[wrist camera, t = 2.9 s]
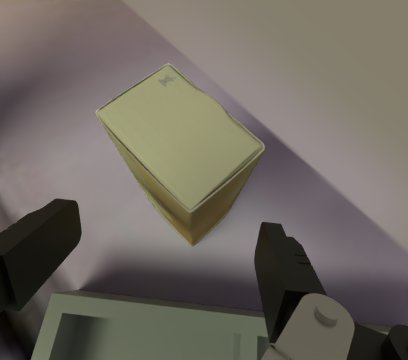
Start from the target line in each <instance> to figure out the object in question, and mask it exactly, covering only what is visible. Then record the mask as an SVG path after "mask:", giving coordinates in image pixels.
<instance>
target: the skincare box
mask: <svg viewBox="0 0 408 360" xmlns="http://www.w3.org/2000/svg"><path fill="white" fill-rule="evenodd" d="M95 114H96V116H97V118H98V119H99V121H100V122H101V124H102V125H103V127H104V128H105V130H106V131H107V133H108V135H109V136H110V138H111V140H112V141H113V143H114V144H115V146H116V147H117V149H118V151H119V152H120V154H121V155H122V157H123V159H124V160H125V162H126V164H127V165H128V167H129V169H130V170H131V172H132V173H133V175H134V177H135V178H136V180H137V182H138V183H139V185H140V186H141V188H142V190H143V191H144V193H145V195H146V196H147V198H148V199H149V200H150V202H151V203H152V204H153V205H154V207H155V208H156V209H157V210H158V211H159V212H160V214H161V215H162V216H163V217H164V218H165V219H166V220H167V222H168V223H169V224H170V225H171V226H172V227H173V228H174V229H175V230H176V231H177V232H178V233H179V234H180V235H181V236H182V237H183V238H184V239H185V241H186V242H187V243H188V244H189V245H190V246H191V247H193V246H194V245H195V244H197V243H198V242H199V241H200V240H201V239H202V238H203V237H204V236H205V235H206V234H207V233H209V232H210V231H211V230H212V229H213V228H214V227H215V226H216V225H217V224H218V223H219V222H220V221H221V220H222V219H223V218H224V217H225V216H226V215H227V213H228V211H229V210H230V208H231V206H232V205H233V203H234V201H235V199H236V198H237V196H238V194H239V193H240V191H241V189H242V187H243V186H244V184H245V182H246V181H247V179H248V177H249V176H250V174H251V172H252V170H253V169H254V167H255V165H256V164H257V162H258V160H259V159H260V157H261V155H262V154H263V152H264V150H265V145H264V143H263V142H261V141H260V140H259V139H258V138H257V137H255V136H254V135H253V134H252V133H251V132H250V131H249V130H248V129H246V128H245V127H244V126H243V125H242V124H241V123H239V122H238V121H237V120H236V119H235V118H234V117H232V116H231V115H230V114H229V113H228V112H227V111H226V110H225V109H224V108H223V107H222V106H221V105H220V104H219V103H217V102H216V101H215V100H214V99H213V98H211V97H210V96H209V95H207V94H206V93H205V92H203V91H202V90H201V89H200V88H199V87H198V86H196V85H195V84H194V83H193V82H192V81H190V80H189V79H188V78H187V77H186V76H185V75H183V74H182V73H181V72H180V71H179V70H178V69H176V68H175V67H174V66H173V65H172V64H170V63H167V64H165V65H164V66H162V67H161V68H159V69H158V70H156V71H155V72H153V73H151V74H150V75H148V76H147V77H145V78H143V79H142V80H140V81H139V82H137V83H136V84H134V85H133V86H131V87H129V88H128V89H126V90H125V91H123V92H122V93H120V94H119V95H117V96H116V97H114V98H113V99H111V100H110V101H109V102H107V103H106V104H104V105H103V106H102V107H100V108H98V109H97V110H96V111H95Z"/></svg>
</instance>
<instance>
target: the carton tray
mask: <svg viewBox="0 0 408 360" xmlns="http://www.w3.org/2000/svg"><path fill="white" fill-rule="evenodd" d="M356 323H357V322H356ZM358 324H360V325H363V326H365V327H368V328H370V329H373V330H376V331H378V332H381V333H383V334H386V335H388V333H389V331H390V330H391V328H392V326H383V325H374V324H366V323H358ZM270 345H273V346H274V345H275V343H269V339H268V333H267V328H266V323H265V317H264V312H263V311H254V310H245V309H237V308H228V307H220V306H211V305H202V304H194V303H185V302H177V301H168V300H159V299H151V298H142V297H134V296H125V295H117V294H108V293H99V292H91V291H82V290H74V291H66V292H57V293H52V295H51V298H50V301H49V304H48V308H47V311H46V314H45V317H44V320H43V323H42V327H41V330H40V333H39V336H38V339H37V342H36V346H35V349H34V352H33V355H32V358H31V360H261V359H262V357H263V355H264V354H265V352H266V351H267V349H268V348H269V346H270Z"/></svg>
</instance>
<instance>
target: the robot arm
mask: <svg viewBox="0 0 408 360" xmlns="http://www.w3.org/2000/svg"><path fill="white" fill-rule="evenodd" d="M81 232H82V231H81V223H80V216H79V208H78V204H77V202H76V201H74V200H65V199H54V200H53V201H51V202H50V203H49V204H47V205H46V206H44V207H43V208H41V209H39V210H37V211H34V212H32V213H29V214H27V215H26V216H24V217H23V218H21V219H20V220H18V221H17V223H14V224H13V225H11V226H10V227H8V228H7V230H4V231H2V232H1V233H0V313H1V311H2V310H3V309H7V310H15V311H20V310H21V309H22V308H23V307H24V306H25V304H26V303H27V302H28V301H29V300H30V299H31V298H32V296H33V295H34V294H35V293H36V292H37V291H38V289H39V288H40V287H41V286H42V285H43V284H44V283H45V281H46V280H47V279H48V278H49V277H50V276H51V275H52V273H53V272H54V271H55V270H56V269H57V268H58V267H59V265H60V264H61V263H62V262H63V261H64V260H65V259H66V257H67V256H68V255H69V254H70V253H71V252H72V251H73V249H74V248H75V247H76V246H77V245H78V243H79V241H80V238H81ZM254 263H255V270H256V275H257V281H258V286H259V291H260V296H261V302H262V307H263V312H264V317H265V323H266V328H267V333H268V339H269V343H275V345H274V346H273V345H270V346H269V348H268V349H267V351H266V352H265V354H264V355H263V357H262V359H261V360H408V326H405V325H396V326H393V327H392V328H391V330H390V331H389V333H388V335H386V334H383V333H381V332H378V331H376V330H373V329H370V328H368V327H365V326H363V325H360V324H358V323H356V322H354V321H353V319H352V317H351V316H350V314H349V313H348V311H347V310H346V309H345V308H344V307H343V306H342V305H341V304H339V303H338V302H337V301H335V300H333V299H332V298H330V297H327V295H326V293H325V291H324V289H323V287H322V285H321V283H320V281H319V279H318V277H317V275H316V273H315V271H314V269H313V267H312V266H311V263H310V261H309V259H308V257H307V255H306V253H305V251H304V249H303V247H302V245H301V244H300V243H299V242H297V241H296V240H295V239H294V238H293V237H286V234H285V232H284V230H283V227H282V225H281V224H277V223H268V222H262V224H261V227H260V231H259V236H258V241H257V245H256V250H255V258H254Z"/></svg>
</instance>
